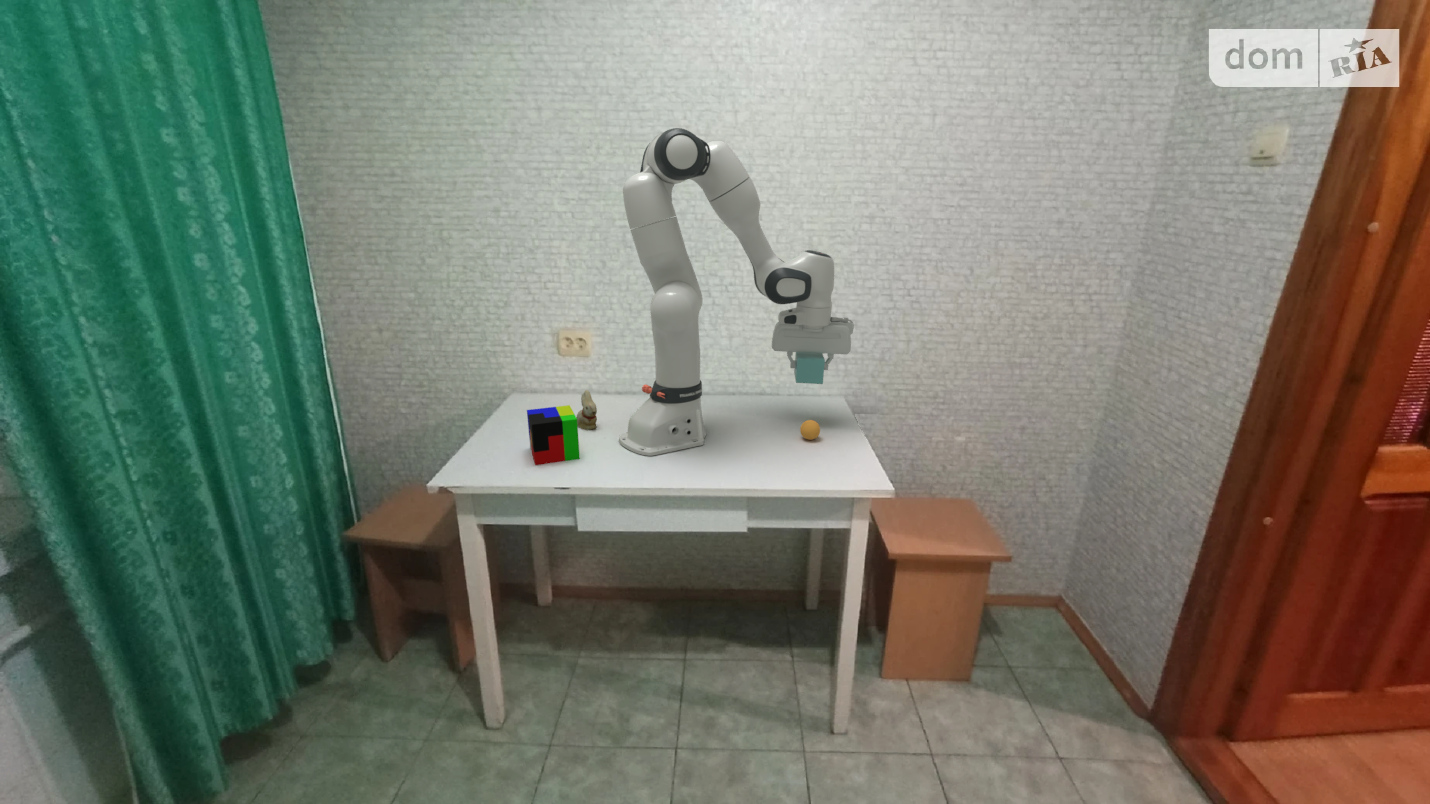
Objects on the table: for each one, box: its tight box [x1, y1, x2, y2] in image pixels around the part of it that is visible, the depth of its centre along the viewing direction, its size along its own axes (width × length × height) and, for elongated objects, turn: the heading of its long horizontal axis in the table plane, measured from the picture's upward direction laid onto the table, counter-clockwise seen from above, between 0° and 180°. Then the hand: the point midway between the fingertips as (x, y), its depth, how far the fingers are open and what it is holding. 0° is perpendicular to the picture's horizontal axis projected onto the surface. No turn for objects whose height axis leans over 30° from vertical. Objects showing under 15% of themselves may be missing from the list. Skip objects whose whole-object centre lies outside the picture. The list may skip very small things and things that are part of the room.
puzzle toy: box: [526, 404, 581, 466], centre depth 148 cm, size 10×10×10 cm
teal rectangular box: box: [793, 352, 826, 385], centre depth 165 cm, size 10×7×6 cm, turn 176°
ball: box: [799, 419, 821, 441], centre depth 159 cm, size 5×5×5 cm
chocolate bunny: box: [576, 389, 598, 431], centre depth 165 cm, size 6×8×10 cm
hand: (808, 368), depth 165 cm, fingers closed on teal rectangular box, 7 cm apart
